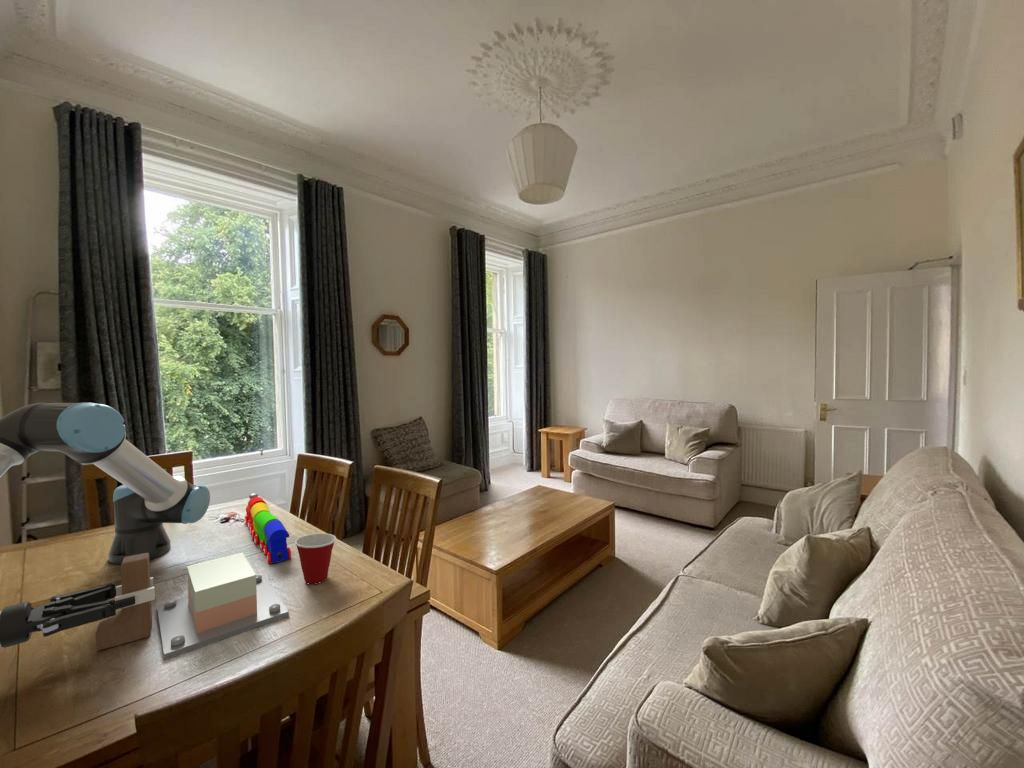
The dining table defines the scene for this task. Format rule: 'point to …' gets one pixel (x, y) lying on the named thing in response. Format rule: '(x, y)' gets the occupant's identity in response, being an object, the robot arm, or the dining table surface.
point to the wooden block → (130, 619)
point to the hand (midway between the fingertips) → (153, 588)
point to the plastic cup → (315, 556)
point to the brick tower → (218, 605)
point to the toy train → (266, 530)
